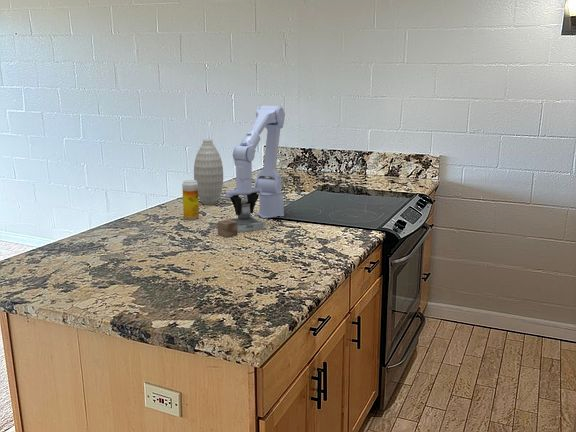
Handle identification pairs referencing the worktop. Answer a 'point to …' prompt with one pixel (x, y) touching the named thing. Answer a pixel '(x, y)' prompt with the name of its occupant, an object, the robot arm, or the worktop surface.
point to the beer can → (190, 199)
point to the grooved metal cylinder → (245, 210)
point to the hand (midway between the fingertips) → (244, 213)
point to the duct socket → (246, 226)
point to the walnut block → (227, 228)
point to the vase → (208, 173)
